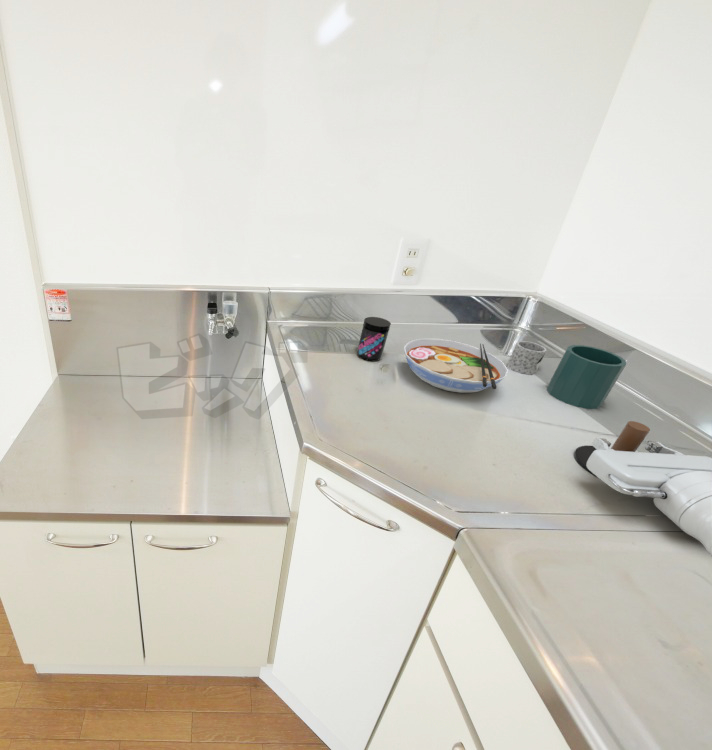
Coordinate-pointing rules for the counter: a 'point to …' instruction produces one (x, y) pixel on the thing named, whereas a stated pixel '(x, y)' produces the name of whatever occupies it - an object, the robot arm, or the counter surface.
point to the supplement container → (373, 338)
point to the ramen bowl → (454, 365)
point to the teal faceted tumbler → (585, 376)
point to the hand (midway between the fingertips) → (624, 442)
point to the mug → (526, 357)
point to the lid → (617, 442)
